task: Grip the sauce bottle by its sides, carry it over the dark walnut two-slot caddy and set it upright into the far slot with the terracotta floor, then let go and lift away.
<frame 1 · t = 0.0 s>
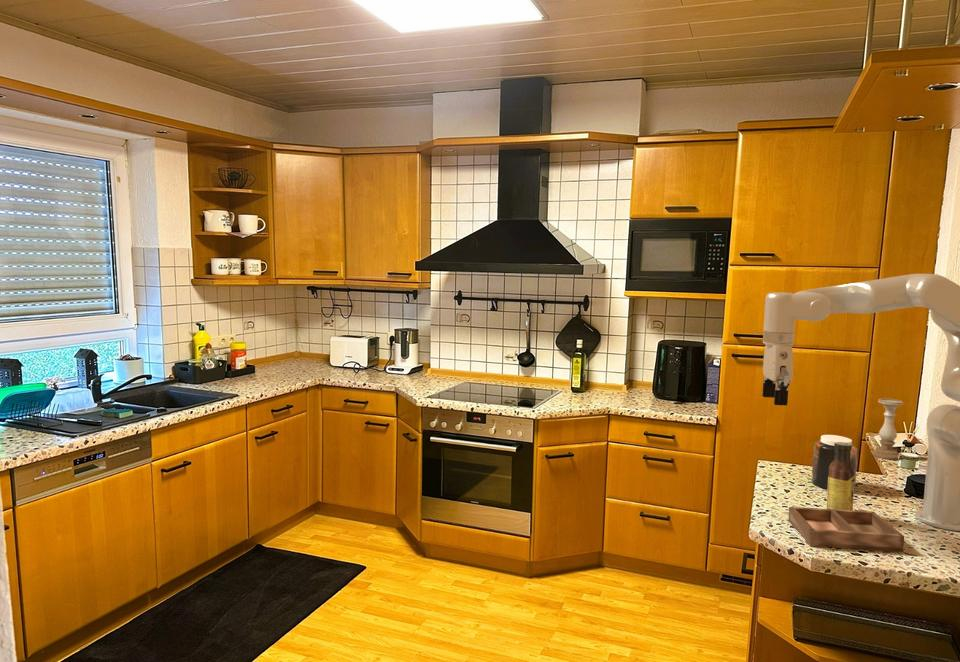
hand: (774, 401, 171), 31 cm above the worktop, tool pointing down, fingers open, 9 cm apart
candle holder: (886, 456, 226), on the worktop
caddy: (842, 535, 160), on the worktop
sauce bottle: (838, 515, 173), on the worktop
jar: (832, 486, 196), on the worktop
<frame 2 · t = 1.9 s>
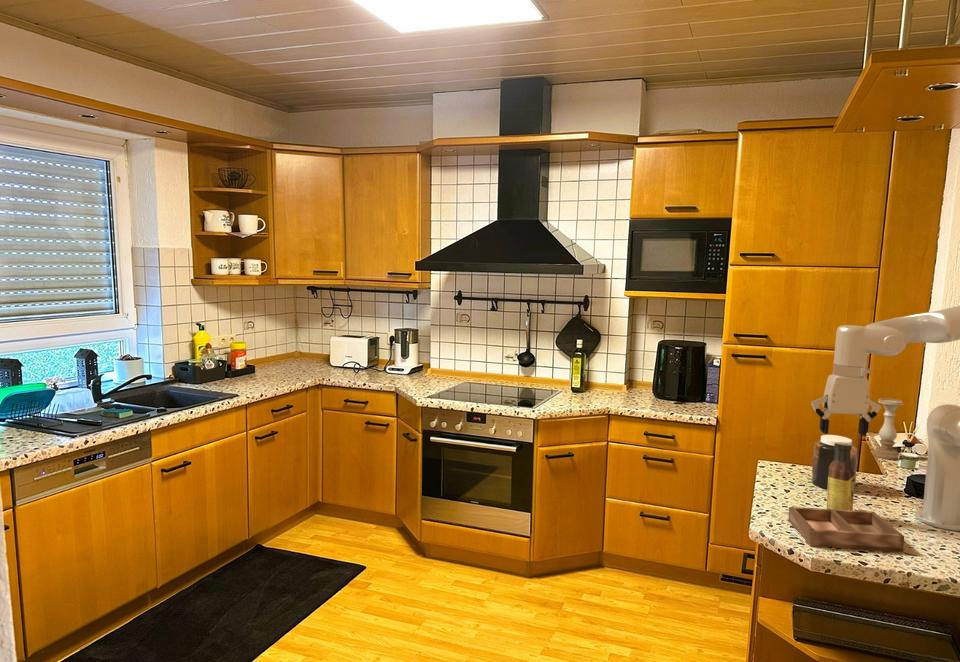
hand: (843, 433, 171), 23 cm above the worktop, tool pointing down, fingers open, 9 cm apart
nothing on the worktop moved.
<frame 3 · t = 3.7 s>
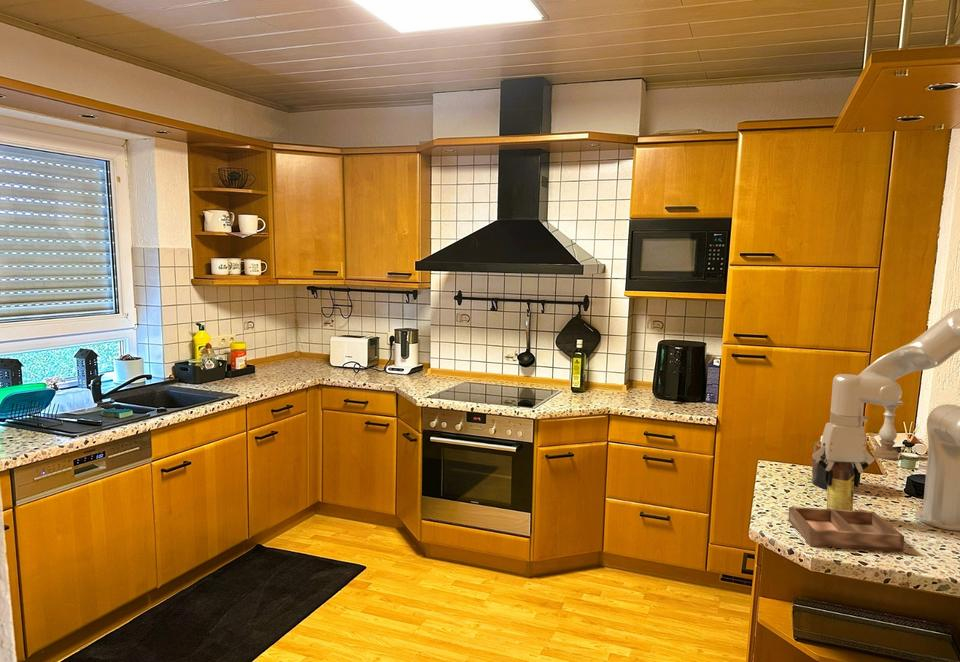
hand: (840, 484, 172), 9 cm above the worktop, tool pointing down, fingers closed on sauce bottle, 6 cm apart
sauce bottle: (838, 515, 173), on the worktop, touching gripper
everything else where it was.
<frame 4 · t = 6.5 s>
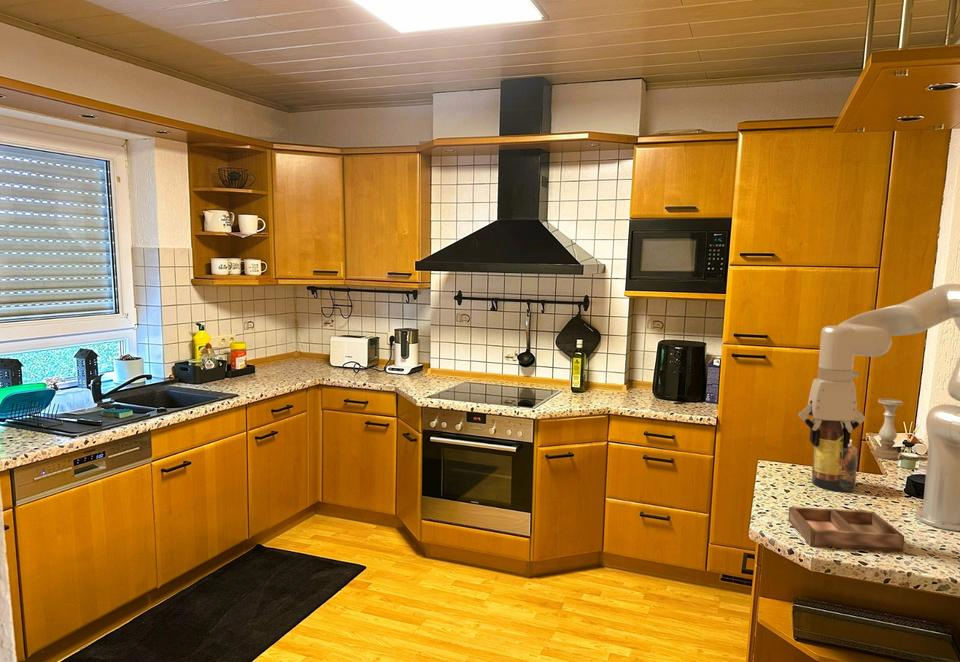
hand: (829, 445, 159), 23 cm above the worktop, tool pointing down, fingers closed on sauce bottle, 6 cm apart
sauce bottle: (826, 478, 160), point 14 cm above the worktop, touching gripper
everything else where it was.
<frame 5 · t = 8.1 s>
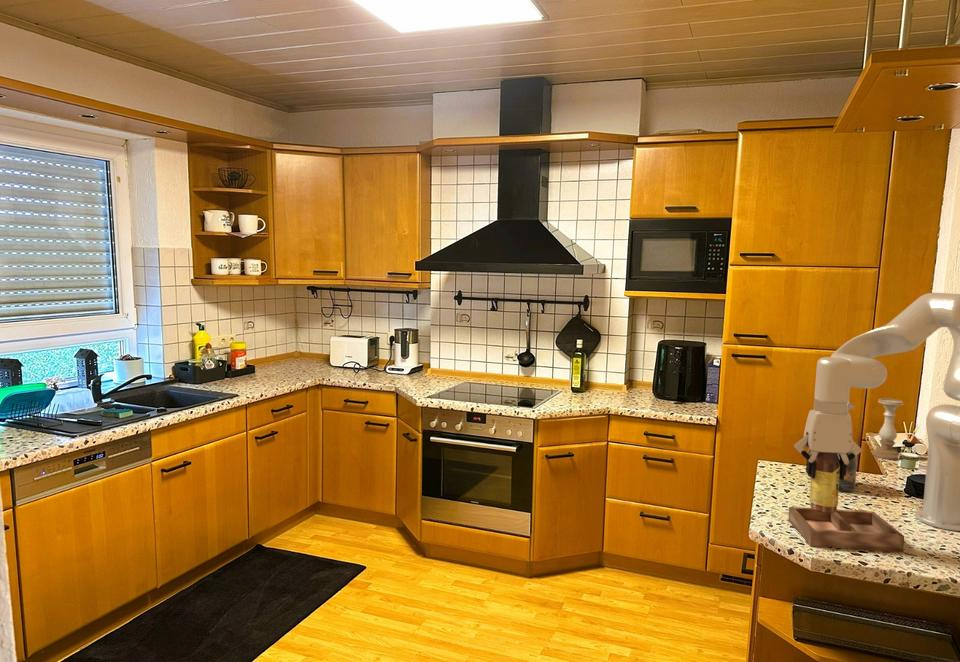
hand: (825, 476, 158), 15 cm above the worktop, tool pointing down, fingers closed on sauce bottle, 6 cm apart
sauce bottle: (822, 510, 159), point 6 cm above the worktop, touching gripper
everything else where it was.
when the fingers open (10 cm above the worktop, at t = 9.5 s): sauce bottle stays where it is, resting on caddy.
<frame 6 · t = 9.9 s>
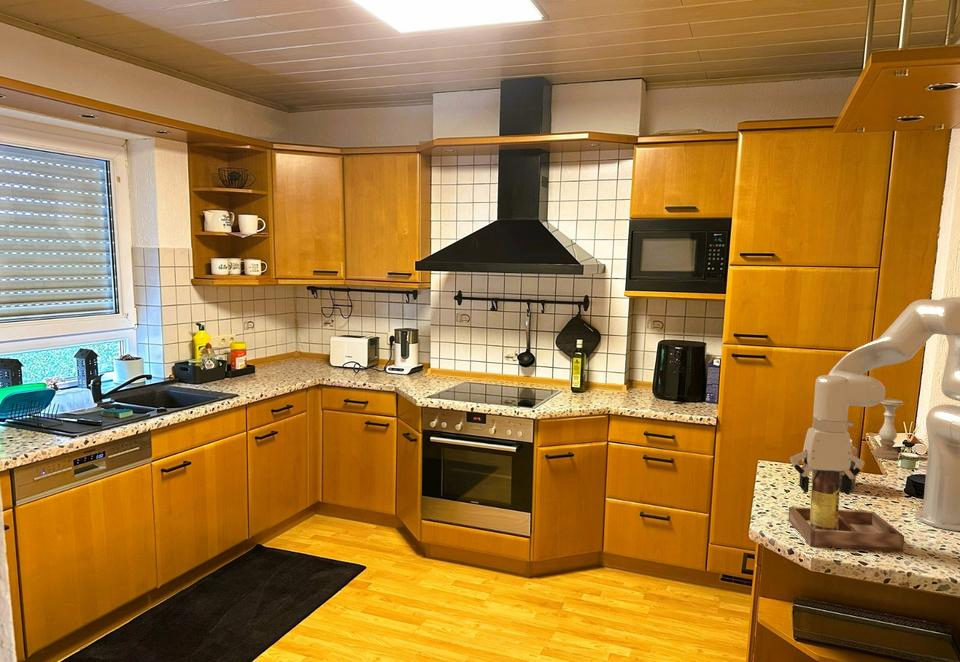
hand: (824, 491, 159), 11 cm above the worktop, tool pointing down, fingers open, 9 cm apart
sauce bottle: (822, 530, 160), point 1 cm above the worktop, touching caddy
everything else where it was.
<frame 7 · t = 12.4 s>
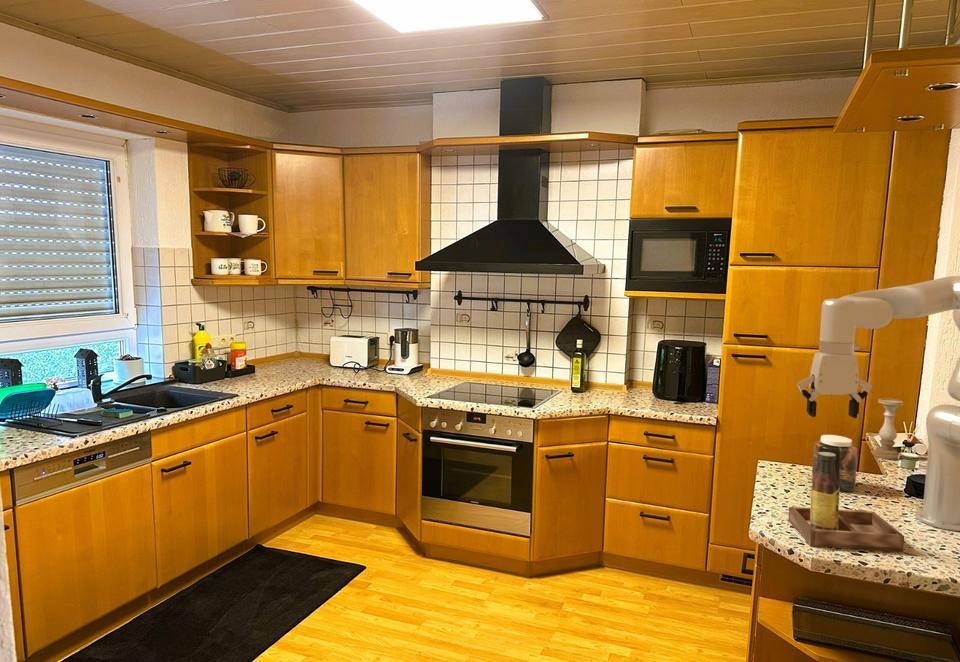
hand: (832, 416, 158), 30 cm above the worktop, tool pointing down, fingers open, 9 cm apart
nothing on the worktop moved.
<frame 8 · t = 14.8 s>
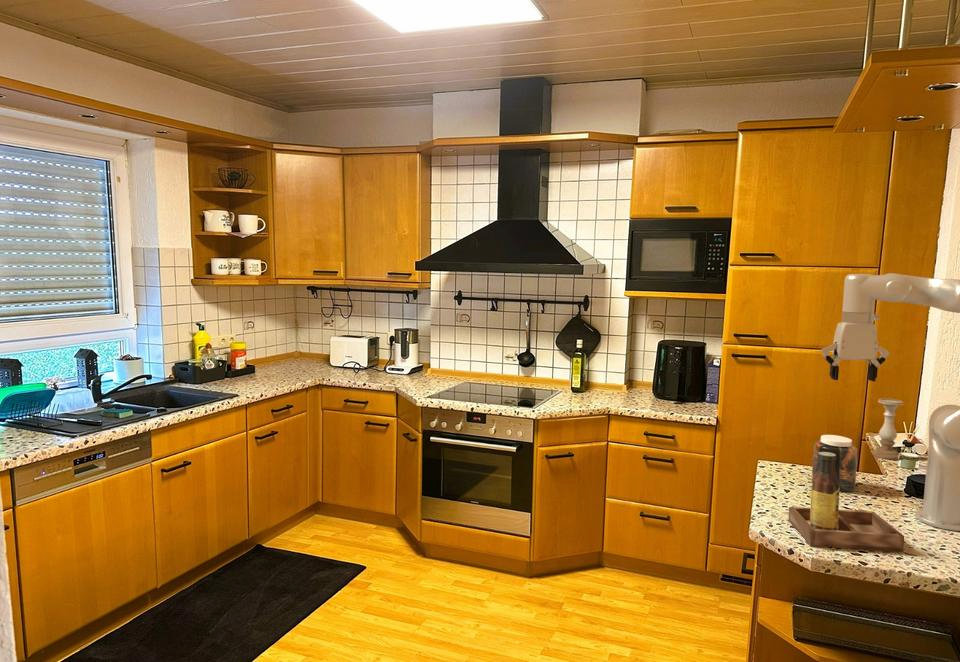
hand: (852, 380, 176), 36 cm above the worktop, tool pointing down, fingers open, 9 cm apart
nothing on the worktop moved.
at the end: sauce bottle inside the target area on the caddy (0.3 cm from its centre), point 0.9 cm above the caddy's base; sauce bottle tilted 0°; the gripper is holding nothing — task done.
